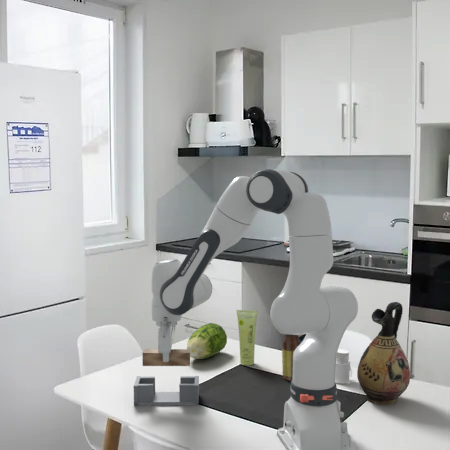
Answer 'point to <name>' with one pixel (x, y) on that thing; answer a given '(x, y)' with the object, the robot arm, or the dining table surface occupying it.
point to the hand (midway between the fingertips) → (166, 358)
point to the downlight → (342, 367)
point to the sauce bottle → (289, 354)
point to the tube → (247, 335)
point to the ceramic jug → (384, 360)
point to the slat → (175, 357)
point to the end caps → (148, 396)
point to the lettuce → (207, 341)
